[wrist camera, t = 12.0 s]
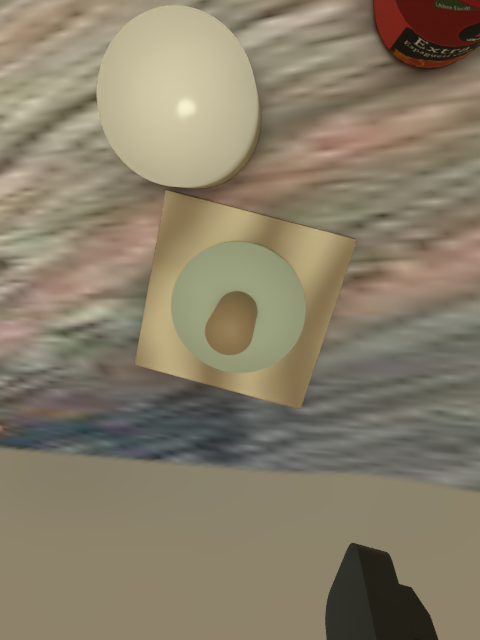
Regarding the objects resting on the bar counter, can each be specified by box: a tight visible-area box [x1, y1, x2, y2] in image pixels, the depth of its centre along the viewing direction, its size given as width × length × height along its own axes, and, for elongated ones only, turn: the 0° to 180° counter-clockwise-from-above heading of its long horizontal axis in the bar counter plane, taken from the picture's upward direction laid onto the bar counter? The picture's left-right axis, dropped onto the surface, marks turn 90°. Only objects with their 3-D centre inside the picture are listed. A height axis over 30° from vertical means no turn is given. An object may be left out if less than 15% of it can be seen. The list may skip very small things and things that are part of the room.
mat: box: [135, 190, 357, 409], centre depth 31 cm, size 14×14×1 cm
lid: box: [171, 241, 306, 373], centre depth 28 cm, size 10×10×6 cm
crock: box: [97, 5, 261, 189], centre depth 25 cm, size 9×9×6 cm
